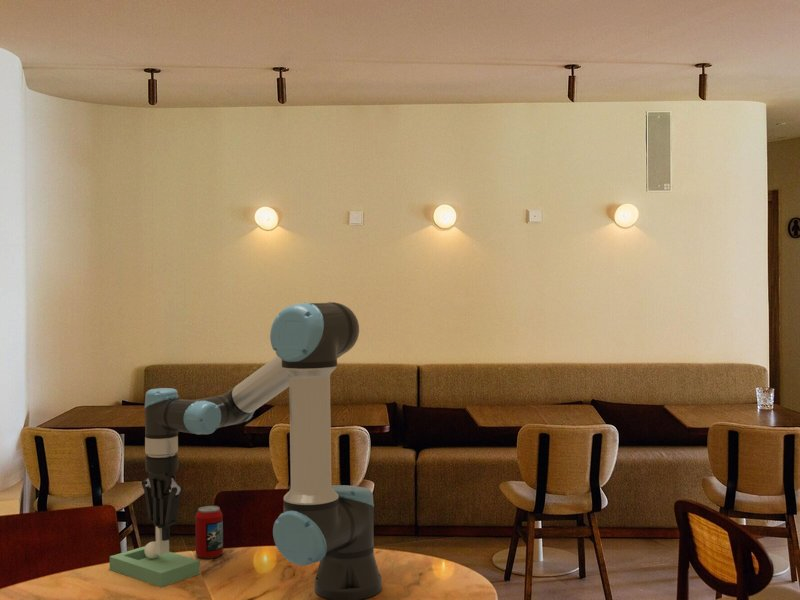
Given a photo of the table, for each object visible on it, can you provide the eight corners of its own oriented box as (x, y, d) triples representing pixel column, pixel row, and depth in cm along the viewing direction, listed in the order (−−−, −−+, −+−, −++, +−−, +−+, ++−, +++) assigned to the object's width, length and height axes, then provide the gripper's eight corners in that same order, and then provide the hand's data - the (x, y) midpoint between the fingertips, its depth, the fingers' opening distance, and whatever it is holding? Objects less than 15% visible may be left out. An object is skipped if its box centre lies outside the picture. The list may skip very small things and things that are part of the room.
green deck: (199, 573, 202) (199, 560, 202) (161, 587, 194) (161, 573, 194) (148, 557, 214) (147, 545, 214) (109, 569, 206) (109, 556, 206)
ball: (154, 538, 207) (154, 554, 207) (140, 542, 204) (140, 558, 204) (165, 541, 204) (165, 557, 205) (151, 545, 201) (151, 562, 201)
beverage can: (216, 560, 212) (215, 512, 212) (191, 558, 213) (190, 511, 213) (227, 552, 219) (226, 505, 218) (202, 550, 220) (202, 504, 220)
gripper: (192, 454, 200) (192, 554, 201) (157, 448, 208) (158, 544, 209) (166, 460, 194) (166, 562, 195) (131, 453, 202) (132, 551, 203)
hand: (162, 552), depth 202 cm, fingers closed
